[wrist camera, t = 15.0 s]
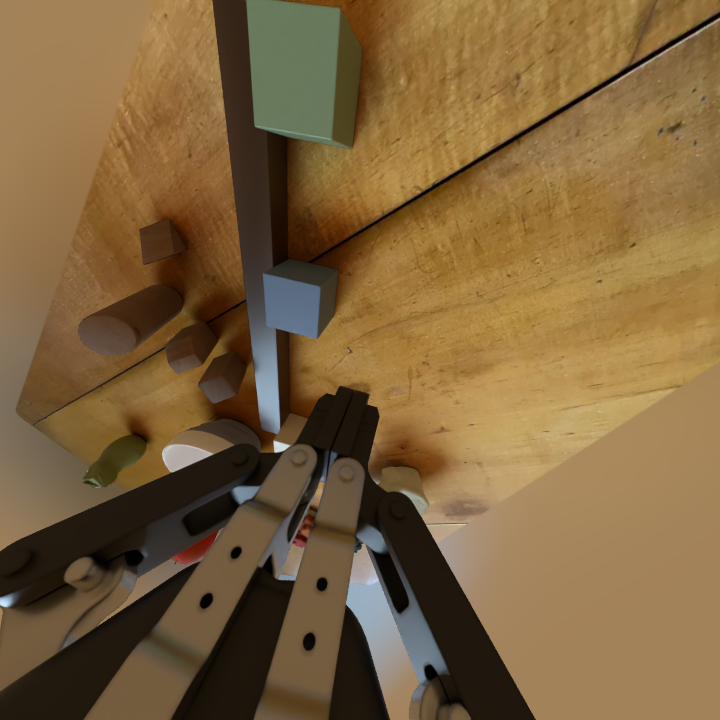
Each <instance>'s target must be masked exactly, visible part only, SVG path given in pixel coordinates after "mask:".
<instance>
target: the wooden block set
mask: <svg viewBox="0 0 720 720" xmlns="http://www.w3.org/2000/svg"><path fill="white" fill-rule="evenodd" d="M140 239H141V248H142V258H143V265H146V264H149V263H152V262H155V261H158V260H161V259H164V258H166V257H169V256H172V255H174V254H177V253H180V252H182V251H185V250H187V247H186V245H185V244H184V242H183V240H182V239H181V237H180V236H179V234H178V233H177V231H176V229H175V228H174V226H173V225H172V223H171V221H170V220H169V219H165V220H163V221H160V222H157V223H155V224H152V225H149V226H147V227H144V228H141V229H140ZM182 307H183V300H182V298H181V296H180V294H179V293H178V292H177V291H176V290H174V289H172V288H171V287H168V286H165V285H153V286H150V287H148V288H145V289H143V290H141V291H139V292H137V293H135V294H133V295H131V296H129V297H127V298H125V299H123V300H120V301H118V302H116V303H114V304H112V305H110V306H108V307H106V308H104V309H102V310H100V311H98V312H95V313H93V314H91V315H89V316H88V317H86V318H84V319H83V320H82V322H81V323H80V324H79V329H78V334H79V337H80V340H81V341H82V342H83V344H84V345H85V346H87V347H88V348H89V349H91V350H92V351H94V352H97V353H99V354H103V355H107V356H119V355H124V354H127V353H129V352H131V351H133V350H134V349H135V348H136V347H138V346H139V345H140V344H141V343H143V342H144V341H145V340H146V339H148V338H149V337H150V336H151V335H153V334H154V333H155V332H156V331H158V330H159V329H160V328H161V327H163V326H164V325H165V324H166V323H168V322H169V321H170V320H171V319H173V318H174V317H175V316H176V315H178V314H179V312H180V311H181V310H182ZM217 342H218V340H217V338H216V337H215V335H214V334H213V333H212V331H211V330H210V328H209V327H208V325H207V324H206V322H204V321H202V322H199V323H197V324H194V325H191V326H189V327H186V328H183V329H182V330H181V331H180V332H179V333H178V334H176V335H175V336H174V337H173V338H172V339H171V340H170V341H169V342H168V343H167V344H166V345H165V348H166V354H167V359H168V363H169V365H170V366H171V367H172V369H173V370H174V371H175V372H176V373H177V374H179V373H182V372H185V371H187V370H190V369H193V368H195V367H198V366H201V365H202V364H203V363H204V362H205V360H206V359H207V357H208V356H209V354H210V353H211V351H212V350H213V348H214V347H215V345H216V344H217ZM246 369H247V368H246V366H245V365H244V363H243V362H242V360H241V359H240V357H239V356H238V354H237V353H236V351H232V352H229V353H227V354H224V355H221V356H219V357H216V358H214V359H213V360H212V362H211V364H210V365H209V367H208V369H207V370H206V372H205V373H204V375H203V377H202V378H201V380H200V381H199V383H198V386H199V387H200V389H201V390H202V391H203V392H204V394H205V395H206V396H207V397H208V398H209V400H210V401H211V402H212V403H217V402H220V401H223V400H225V399H228V398H231V397H233V396H236V395H237V394H238V391H239V388H240V386H241V383H242V380H243V378H244V375H245V372H246Z"/></svg>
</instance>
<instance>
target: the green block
mask: <svg viewBox="0 0 720 720" xmlns="http://www.w3.org/2000/svg"><path fill="white" fill-rule="evenodd" d="M246 2H247V18H248V33H249V48H250V63H251V79H252V94H253V109H254V124H255V127H257V128H260V129H263V130H267V131H270V132H273V133H276V134H279V135H283V136H286V137H289V138H294V139H299V140H305V141H310V142H316V143H322V144H327V145H333V146H338V147H344V148H350V149H352V147H353V138H354V128H355V119H356V109H357V99H358V90H359V80H360V70H361V61H362V48H361V46H360V44H359V42H358V40H357V38H356V36H355V34H354V32H353V31H352V29H351V27H350V25H349V23H348V21H347V19H346V17H345V15H344V13H343V11H342V9H341V8H339V7H331V6H324V5H316V4H308V3H300V2H292V1H284V0H246Z"/></svg>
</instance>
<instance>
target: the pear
mask: <svg viewBox="0 0 720 720" xmlns="http://www.w3.org/2000/svg"><path fill="white" fill-rule="evenodd" d="M145 451H146V443H145V441H144V440H143V439H142V438H141V437H139V436H135V435H128V436H124V437H121V438H119V439H117V440H116V441H114V442H113V443H111V444H110V445H109V446H108V447H107V448H106V449H105V450H104V451H103V453H102V454H101V456H100V458H99V459H98V460H97V461H96V462H95V463H93V464H92V465H91V466H90V467H89V469H88V470H87V471H86V475H85V476H84V477H83V480H84V482H83V483H85V484H89V485H90V486H91V487H94V488H95V487H107V486H108V485H110V484H112V483H113V482H114V481H115V480H116V478H117V475H118V473H119V472H120V471H121V470H123V469H125V468H127V467H129V466H130V465H132V464H134V463H135V462H136V461H138V460H139V459H140V458H141V457H142V456H143V455H144V453H145Z"/></svg>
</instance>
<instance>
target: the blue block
mask: <svg viewBox="0 0 720 720" xmlns="http://www.w3.org/2000/svg"><path fill="white" fill-rule="evenodd" d="M337 280H338V269H334V268H329V267H325V266H320V265H316V264H312V263H307V262H303V261H298V260H294V259H288V260H286V261H284V262H282V263H280V264H279V265H277V266H275V267H273V268H271V269H269V270H267V271H266V272H264V273H263V282H264V296H265V311H266V325H267V326H268V327H272V328H276V329H280V330H284V331H288V332H292V333H296V334H300V335H304V336H308V337H312V338H316V339H318V337H319V336H320V335H321V333H322V332H323V330H324V329H325V328H326V326H327V325H328V324H329V322H330V321H331V319H332V318H333V317H334V310H335V300H336V290H337Z"/></svg>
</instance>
